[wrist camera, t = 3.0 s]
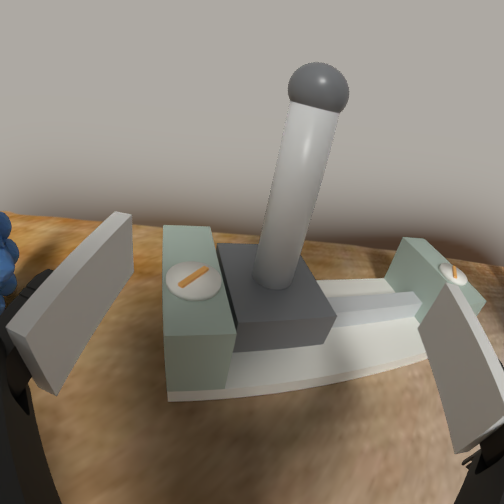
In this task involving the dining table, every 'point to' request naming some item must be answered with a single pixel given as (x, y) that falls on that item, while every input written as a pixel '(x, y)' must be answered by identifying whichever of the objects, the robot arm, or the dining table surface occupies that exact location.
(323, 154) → the carriage
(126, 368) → the dining table surface
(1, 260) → the grapes
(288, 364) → the rail stand
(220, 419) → the dining table surface
